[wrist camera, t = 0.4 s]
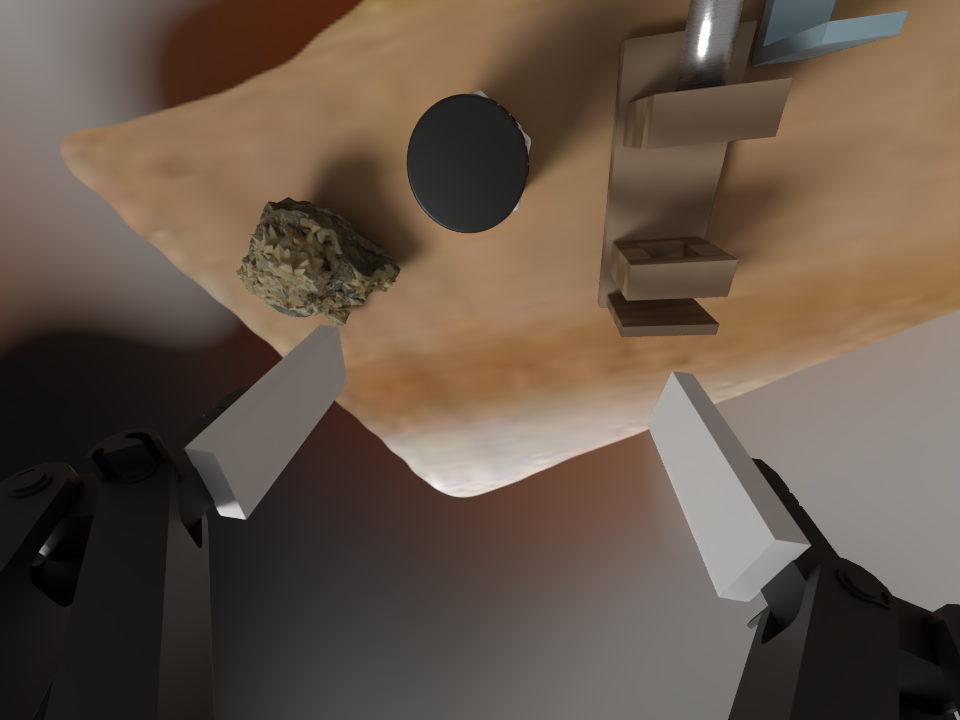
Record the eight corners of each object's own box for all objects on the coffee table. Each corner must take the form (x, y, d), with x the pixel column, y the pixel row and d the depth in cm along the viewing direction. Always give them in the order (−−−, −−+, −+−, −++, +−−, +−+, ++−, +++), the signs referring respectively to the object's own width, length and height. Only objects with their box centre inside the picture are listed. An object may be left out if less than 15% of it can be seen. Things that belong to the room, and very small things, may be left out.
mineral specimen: (347, 338, 46) (307, 383, 38) (258, 269, 42) (192, 302, 34) (413, 262, 39) (382, 296, 31) (315, 171, 35) (249, 182, 27)
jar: (550, 153, 32) (560, 161, 22) (494, 225, 36) (481, 260, 26) (473, 79, 30) (445, 50, 20) (423, 165, 34) (379, 177, 24)
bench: (621, 43, 28) (656, 9, 20) (746, 25, 26) (834, -19, 19) (597, 302, 39) (614, 342, 32) (683, 298, 38) (722, 339, 30)
